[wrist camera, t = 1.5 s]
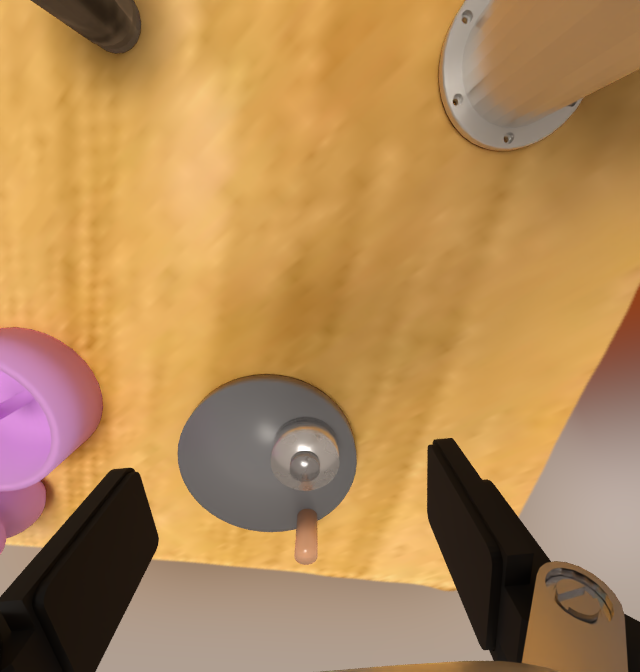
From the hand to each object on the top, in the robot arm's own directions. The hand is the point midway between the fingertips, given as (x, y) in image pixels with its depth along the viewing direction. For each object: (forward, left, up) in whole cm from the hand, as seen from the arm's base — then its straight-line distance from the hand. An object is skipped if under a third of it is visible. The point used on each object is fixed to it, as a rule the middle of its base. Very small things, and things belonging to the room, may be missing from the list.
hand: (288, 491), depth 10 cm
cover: (+7, +12, -22) cm, 26 cm away
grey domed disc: (+12, +12, -24) cm, 30 cm away
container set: (+35, -4, -25) cm, 43 cm away
